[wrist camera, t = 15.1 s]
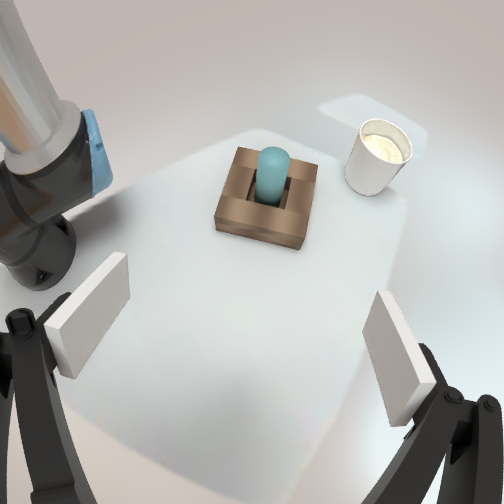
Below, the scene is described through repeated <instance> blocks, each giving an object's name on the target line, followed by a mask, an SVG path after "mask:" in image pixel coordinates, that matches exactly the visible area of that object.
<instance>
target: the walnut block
mask: <svg viewBox="0 0 504 504" xmlns="http://www.w3.org/2000/svg"><path fill="white" fill-rule="evenodd" d="M260 152H261V151H257V150H252V149H247V148H243V147H238V148H237V151H236V154H235V157H234V160H233V163H232V165H231V168H230V171H229V174H228V177H227V180H226V183H225V185H224V188H223V191H222V194H221V197H220V200H219V203H218V206H217V209H216V212H215V215H214V219H215V226H216V230H218V231H222V232H226V233H231V234H235V235H239V236H243V237H247V238H251V239H255V240H260V241H264V242H268V243H272V244H276V245H280V246H284V247H288V248H292V249H296V250H299V249H300V247H301V245H302V243H303V241H304V239H305V236H306V230H307V225H308V220H309V214H310V209H311V203H312V198H313V192H314V186H315V181H316V175H317V169H318V165H316V164H312V163H308V162H304V161H300V160H296V159H292V158H290V164H289V168H288V172H287V177H286V181H285V185H284V189H283V193H282V197H281V202H280V205H279V207H278V208H276V207H272V206H268V205H263V204H259V203H255V202H254V197H255V186H256V175H257V164H258V156H259V153H260Z"/></svg>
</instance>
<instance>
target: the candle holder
mask: <svg viewBox="0 0 504 504" xmlns="http://www.w3.org/2000/svg"><path fill="white" fill-rule="evenodd" d="M412 153H413V148H412V144H411V141H410V139H409V138H408V136H407V135H406V134H405V132H404V131H403V130H402V129H400V128H399V127H398V126H396V125H395V124H393V123H391V122H389V121H386V120H383V119H369V120H367V121H365V122H364V123H363V124H362V125H361V127H360V130H359V133H358V136H357V139H356V142H355V144H354V147H353V150H352V152H351V155H350V157H349V160H348V163H347V166H346V169H345V178H346V181H347V183H348V184H349V186H350V187H351V188H352V189H353V190H354V191H356V192H357V193H359V194H362V195H365V196H374V195H377V194H379V193H380V192H381V191H382V190H383V189H384V188H385V187H386V186H387V184H388V183H389V182H390V181H391V180H392V179H393V178H394V176H395V175H396V174H397V173H398V172H399V171H400V169H401V168H402V167H403V166H404V165H405V163H407V162H408V161H409V160H410V158H411V156H412Z"/></svg>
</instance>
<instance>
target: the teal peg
mask: <svg viewBox="0 0 504 504" xmlns="http://www.w3.org/2000/svg"><path fill="white" fill-rule="evenodd" d="M289 164H290V157H289V155H288V153H287V152H286V151H285V150H283V149H281V148H278V147H267V148H265V149H263V150H262V151H261V152H260V153H259V156H258V164H257V175H256V186H255V197H254V202H255V203H259V204H263V205H268V206H272V207H276V208H278V207H279V205H280V202H281V197H282V193H283V189H284V185H285V181H286V177H287V172H288V168H289Z"/></svg>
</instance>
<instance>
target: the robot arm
mask: <svg viewBox="0 0 504 504" xmlns="http://www.w3.org/2000/svg"><path fill="white" fill-rule="evenodd" d="M0 141H1V142H2V143H3V145H4V146H5V147H6V148H5V153H4V160H3V161H1V162H0V262H1V263H3V264H5V265H6V267H7V268H8V270H9V271H10V272H11V274H12V275H13V277H14V278H15V279H16V280H17V281H18V282H19V283H20V284H21V285H23V286H25V287H27V288H29V289H32V290H37V291H39V290H45V289H48V288H50V287H52V286H54V285H55V284H56V283H57V282H59V281H60V280H61V279H62V277H63V276H64V275H65V274H66V272H67V271H68V269H69V267H70V265H71V263H72V260H73V257H74V253H75V244H76V241H75V234H74V230H73V228H72V226H71V224H70V223H69V222H68V221H67V220H66V219H65V218H64V217H63V216H62V215H61V214H62V213H64V212H66V211H68V210H69V209H71V208H73V207H75V206H77V205H79V204H81V203H83V202H84V201H86V200H88V199H91V198H93V197H94V196H95V195H96V194H98V193H99V192H101V191H102V190H104V189H106V188H107V187H109V185H110V184H111V182H112V180H113V174H112V171H111V168H110V164H109V161H108V158H107V155H106V152H105V149H104V146H103V142H102V139H101V135H100V132H99V128H98V125H97V121H96V118H95V114H94V111H93V110H91V109H88V110H83V111H81V112H80V111H79V109H78V107H77V106H76V104H74V103H73V102H70V101H68V100H60V99H59V97H58V96H57V94H56V92H55V90H54V88H53V86H52V84H51V82H50V80H49V78H48V76H47V74H46V72H45V70H44V68H43V66H42V64H41V62H40V60H39V58H38V56H37V54H36V52H35V50H34V47H33V45H32V43H31V41H30V39H29V37H28V34H27V32H26V30H25V28H24V26H23V23H22V21H21V18H20V16H19V14H18V12H17V9H16V7H15V4H14V2H13V0H0ZM129 299H130V291H129V277H128V260H127V253H121V252H115V251H114V252H113V253H112V254H111V255H110V256H109V257H108V258H107V259H106V260H105V261H104V262H103V263H102V264H101V265H100V266H99V267H98V268H97V269H96V270H95V271H94V272H93V273H92V274H91V275H90V276H89V277H88V278H87V279H86V280H85V281H84V282H83V283H82V284H81V285H80V286H79V287H78V288H77V289H76V290H75V291H74V292H73V293H70V292H67V293H65V294H63V295H61V296H59V297H58V298H57V299H56V300H55V301H54V302H53V304H51V305H50V306H49V307H48V309H46V310H45V312H44V313H43V314H42V315H41V316H40V317H39V318H38V319H37V320H36V321H35V317H34V314H33V312H32V311H31V310H30V309H27V308H19V309H16V310H13V311H12V312H10V313H9V314H8V315H7V316H6V319H5V322H6V324H7V327H8V330H9V333H2V332H0V504H7V487H6V485H7V484H6V483H7V482H6V481H7V476H6V473H7V450H8V436H9V426H10V425H9V424H10V416H11V408H12V401H13V394H14V393H15V402H16V409H17V416H18V423H19V428H20V434H21V439H22V444H23V449H24V454H25V458H26V462H27V466H28V470H29V474H30V478H31V481H32V485H33V492H32V493H31V497H30V498H31V502H32V504H97V502H96V500H95V498H94V495H93V493H92V491H91V488H90V486H89V484H88V481H87V479H86V476H85V474H84V472H83V469H82V467H81V464H80V461H79V458H78V456H77V453H76V450H75V447H74V444H73V441H72V438H71V435H70V432H69V429H68V426H67V422H66V419H65V415H64V412H63V408H62V404H61V400H60V397H59V393H58V388H57V384H56V380H55V376H54V373H53V370H54V369H55V367H56V366H57V367H58V369H59V372H60V375H63V376H65V377H68V378H71V379H74V380H75V379H76V377H77V376H78V374H79V373H80V371H81V369H82V368H83V366H84V365H85V363H86V362H87V360H88V359H89V357H90V355H91V354H92V352H93V351H94V349H95V348H96V346H97V345H98V343H99V342H100V340H101V339H102V337H103V336H104V334H105V333H106V332H107V330H108V329H109V327H110V326H111V324H112V323H113V321H114V320H115V318H116V317H117V316H118V314H119V313H120V311H121V310H122V308H123V307H124V306H125V304H126V303H127V301H128V300H129ZM362 333H363V336H364V339H365V342H366V345H367V348H368V351H369V354H370V358H371V360H372V364H373V367H374V371H375V374H376V377H377V380H378V384H379V387H380V391H381V394H382V397H383V401H384V405H385V408H386V411H387V415H388V419H389V423H390V426H391V427H397V426H406V425H407V424H408V422H409V421H410V420H411V418H413V421H414V426H413V427H412V428H411V430H410V431H409V432H408V433H407V435H406V436H405V437H404V442H403V443H402V445H401V447H400V448H399V450H398V452H397V453H396V455H395V456H394V458H393V459H392V461H391V462H390V464H389V466H388V467H387V469H386V470H385V472H384V473H383V475H382V476H381V478H380V479H379V480H378V482H377V483H376V485H375V486H374V487H373V489H372V490H371V491H370V493H369V494H368V495H367V497H366V498H365V499H364V501H363V502H362V503H361V504H421V502H422V501H423V499H424V497H425V495H426V493H427V491H428V489H429V487H430V485H431V483H432V481H433V479H434V477H435V475H436V473H437V471H438V469H439V467H440V465H441V462H442V460H443V458H444V456H445V453H446V456H445V463H444V469H443V475H442V480H441V485H440V490H439V495H438V500H437V504H501V502H502V490H503V460H504V459H503V457H504V456H503V425H502V412H501V406H500V403H499V402H498V400H497V399H495V398H494V397H493V396H491V395H486V394H485V395H482V396H481V397H480V398H479V399H478V401H477V402H474V401H469V400H465V399H464V397H463V395H462V394H461V392H460V391H459V390H457V389H456V388H454V387H451V386H448V384H447V382H446V380H445V378H444V376H443V374H442V372H441V370H440V368H439V367H438V364H437V362H436V360H434V359H435V358H434V356H433V354H432V352H431V351H430V349H428V347H427V346H426V345H424V344H422V343H417V341H416V339H415V337H414V335H413V333H412V331H411V329H410V327H409V325H408V323H407V322H406V320H405V318H404V316H403V314H402V312H401V310H400V309H399V307H398V305H397V303H396V301H395V300H394V297H393V296H392V294H391V292H388V291H380V290H377V293H376V296H375V299H374V302H373V304H372V307H371V310H370V313H369V315H368V318H367V321H366V323H365V326H364V328H363V331H362Z"/></svg>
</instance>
